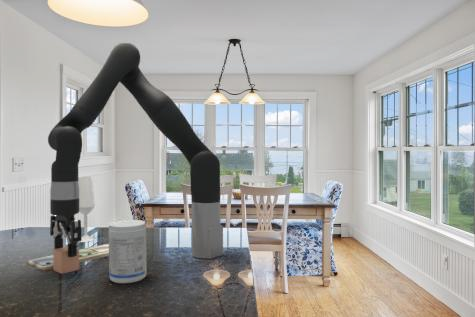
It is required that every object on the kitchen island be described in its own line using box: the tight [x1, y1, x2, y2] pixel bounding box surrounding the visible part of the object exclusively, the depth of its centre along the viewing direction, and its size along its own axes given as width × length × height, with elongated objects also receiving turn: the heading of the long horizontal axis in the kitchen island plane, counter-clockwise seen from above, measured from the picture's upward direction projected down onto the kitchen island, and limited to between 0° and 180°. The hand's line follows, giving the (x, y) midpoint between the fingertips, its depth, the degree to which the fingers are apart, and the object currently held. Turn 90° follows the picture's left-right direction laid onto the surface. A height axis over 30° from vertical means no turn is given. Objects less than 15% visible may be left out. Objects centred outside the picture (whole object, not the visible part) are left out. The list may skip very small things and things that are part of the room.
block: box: [52, 246, 80, 275], centre depth 108 cm, size 5×5×6 cm
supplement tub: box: [108, 219, 147, 284], centre depth 100 cm, size 10×10×15 cm
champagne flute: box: [78, 176, 96, 243], centre depth 144 cm, size 7×7×24 cm
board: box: [26, 243, 109, 272], centre depth 121 cm, size 12×27×1 cm, turn 139°
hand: (65, 253), depth 108 cm, fingers open, 8 cm apart
